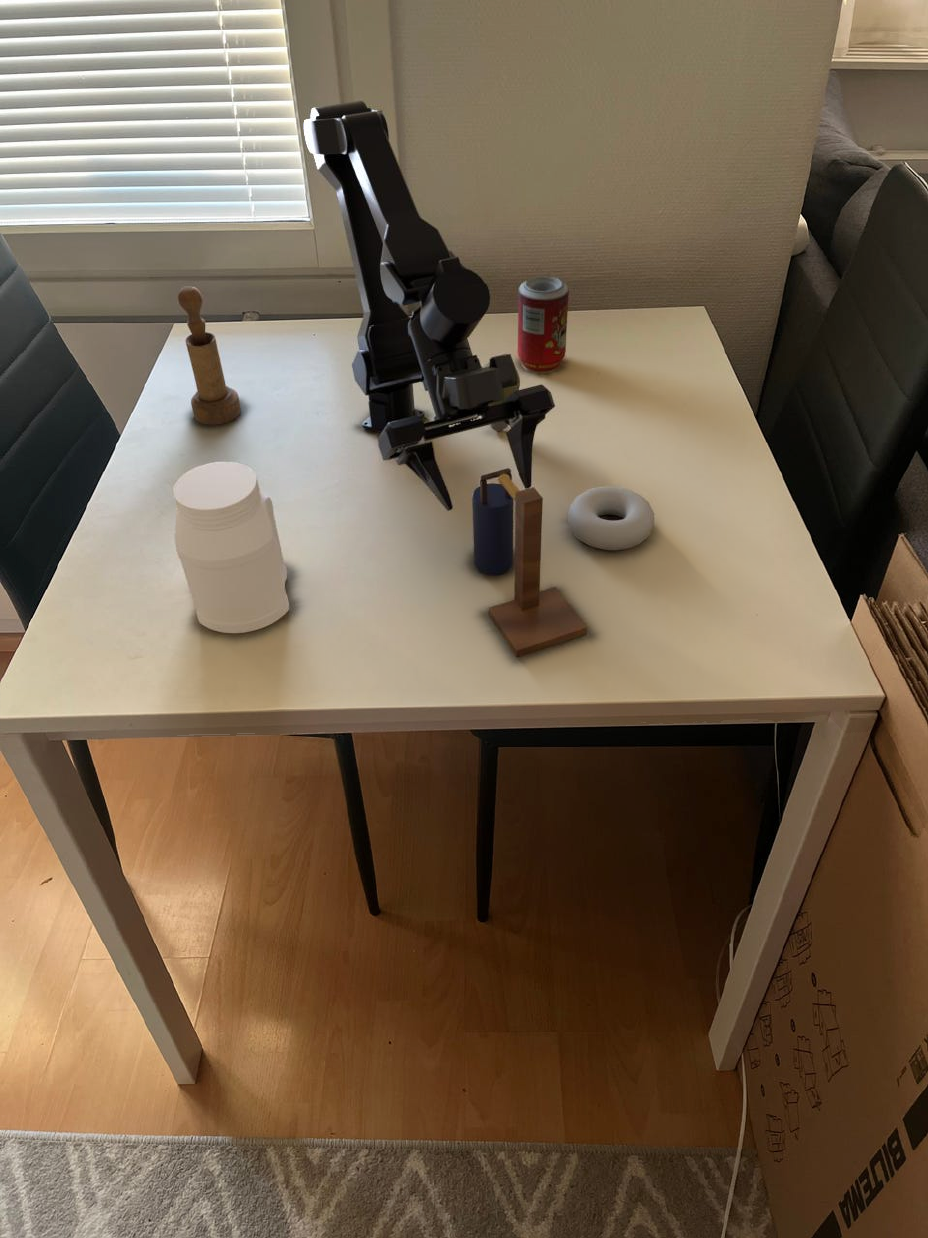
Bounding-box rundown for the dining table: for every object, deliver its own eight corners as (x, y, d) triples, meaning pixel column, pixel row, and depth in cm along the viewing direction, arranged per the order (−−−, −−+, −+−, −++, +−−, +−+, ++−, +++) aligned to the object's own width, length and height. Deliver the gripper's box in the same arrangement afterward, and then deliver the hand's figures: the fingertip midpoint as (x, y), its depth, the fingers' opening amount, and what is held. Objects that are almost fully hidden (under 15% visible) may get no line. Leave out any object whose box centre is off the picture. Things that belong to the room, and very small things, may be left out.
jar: (290, 626, 98) (265, 513, 87) (198, 640, 97) (162, 526, 86) (286, 558, 106) (262, 447, 95) (201, 570, 105) (168, 458, 94)
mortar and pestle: (230, 426, 127) (200, 301, 114) (186, 423, 128) (152, 297, 115) (248, 402, 131) (221, 278, 119) (205, 398, 132) (174, 275, 120)
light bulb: (471, 437, 123) (469, 368, 116) (486, 416, 127) (485, 348, 120) (511, 444, 121) (511, 376, 114) (525, 423, 125) (526, 355, 118)
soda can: (559, 377, 134) (563, 296, 125) (512, 372, 135) (512, 291, 127) (569, 355, 138) (573, 274, 130) (523, 350, 140) (524, 270, 132)
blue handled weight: (468, 556, 105) (464, 462, 96) (503, 546, 106) (502, 452, 97) (483, 579, 102) (481, 484, 93) (519, 568, 103) (520, 473, 94)
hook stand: (469, 585, 102) (465, 471, 91) (534, 565, 104) (537, 451, 93) (516, 657, 93) (518, 541, 83) (586, 634, 95) (596, 518, 85)
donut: (643, 564, 103) (660, 511, 110) (646, 540, 101) (663, 487, 108) (557, 547, 106) (578, 496, 113) (558, 524, 103) (579, 473, 110)
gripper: (376, 351, 89) (425, 507, 89) (549, 312, 93) (596, 459, 94) (359, 388, 99) (403, 526, 99) (515, 351, 104) (557, 483, 104)
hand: (489, 498), depth 99 cm, fingers open, 9 cm apart
